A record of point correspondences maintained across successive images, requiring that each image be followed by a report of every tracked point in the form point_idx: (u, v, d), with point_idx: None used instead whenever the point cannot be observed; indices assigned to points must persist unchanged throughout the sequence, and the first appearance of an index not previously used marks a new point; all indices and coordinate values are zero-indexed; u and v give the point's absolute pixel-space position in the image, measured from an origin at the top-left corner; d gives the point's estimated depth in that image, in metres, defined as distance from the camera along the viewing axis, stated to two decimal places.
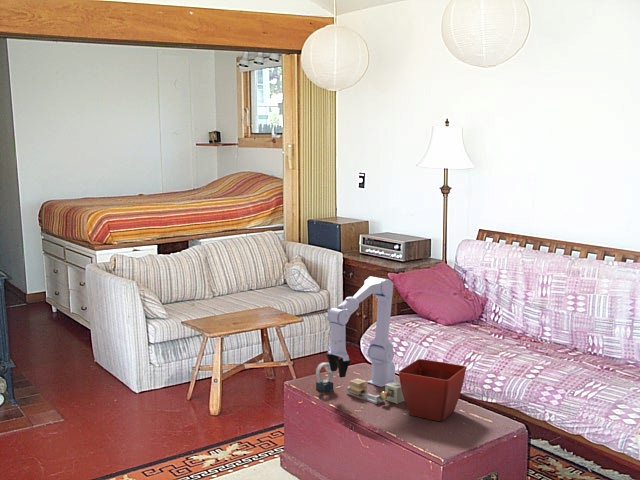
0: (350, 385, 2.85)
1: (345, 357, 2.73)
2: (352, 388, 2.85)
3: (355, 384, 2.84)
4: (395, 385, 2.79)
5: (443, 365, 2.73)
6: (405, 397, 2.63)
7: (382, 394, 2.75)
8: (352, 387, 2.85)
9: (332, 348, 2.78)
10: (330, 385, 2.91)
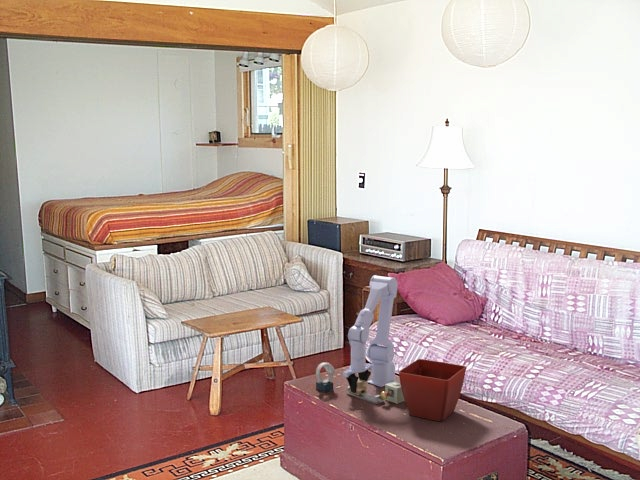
0: None
1: (344, 373, 2.80)
2: None
3: None
4: (395, 385, 2.79)
5: (443, 365, 2.73)
6: (405, 397, 2.63)
7: (382, 394, 2.75)
8: None
9: None
10: (330, 385, 2.91)
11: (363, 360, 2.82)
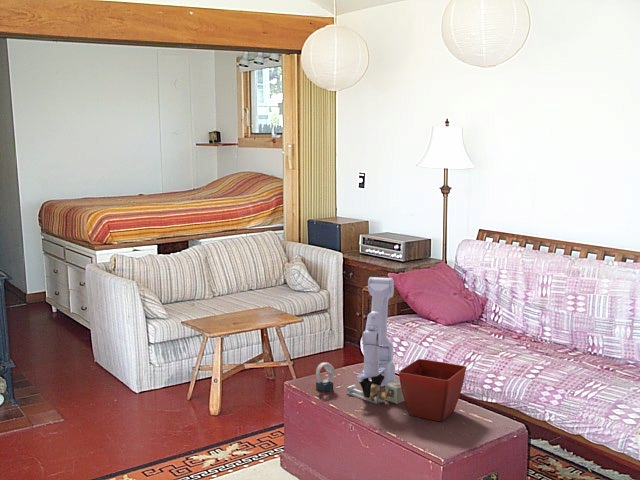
0: None
1: (357, 377, 2.75)
2: None
3: None
4: (395, 385, 2.79)
5: (443, 365, 2.73)
6: (405, 397, 2.63)
7: (382, 394, 2.75)
8: None
9: None
10: (330, 385, 2.91)
11: (377, 364, 2.77)
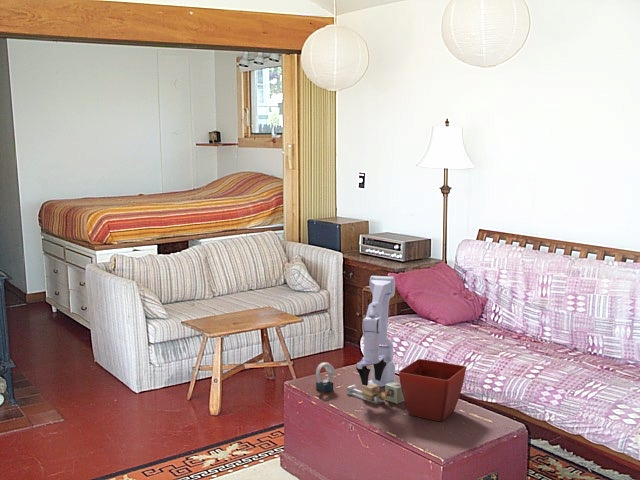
0: (363, 389, 2.81)
1: (358, 364, 2.74)
2: (365, 392, 2.80)
3: (368, 388, 2.79)
4: (395, 385, 2.79)
5: (443, 365, 2.73)
6: (405, 397, 2.63)
7: (382, 394, 2.75)
8: (365, 391, 2.80)
9: None
10: (330, 385, 2.91)
11: (377, 351, 2.77)
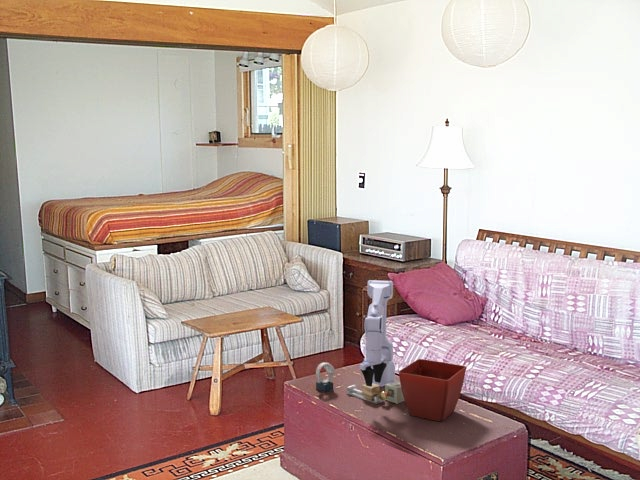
0: (363, 389, 2.81)
1: (360, 365, 2.65)
2: (365, 392, 2.80)
3: (368, 388, 2.79)
4: (395, 385, 2.79)
5: (443, 365, 2.73)
6: (405, 397, 2.63)
7: (382, 394, 2.75)
8: (365, 391, 2.80)
9: None
10: (330, 385, 2.91)
11: (379, 351, 2.68)
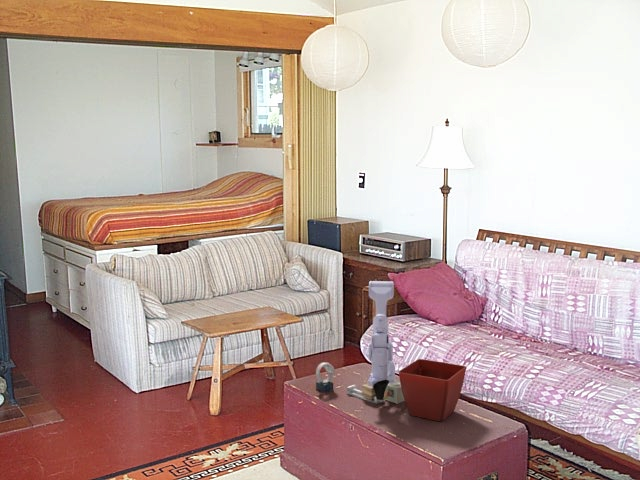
0: (363, 389, 2.81)
1: (368, 382, 2.68)
2: (365, 392, 2.80)
3: (368, 388, 2.79)
4: (395, 385, 2.79)
5: (443, 365, 2.73)
6: (405, 397, 2.63)
7: None
8: (365, 391, 2.80)
9: None
10: (330, 385, 2.91)
11: (386, 367, 2.71)
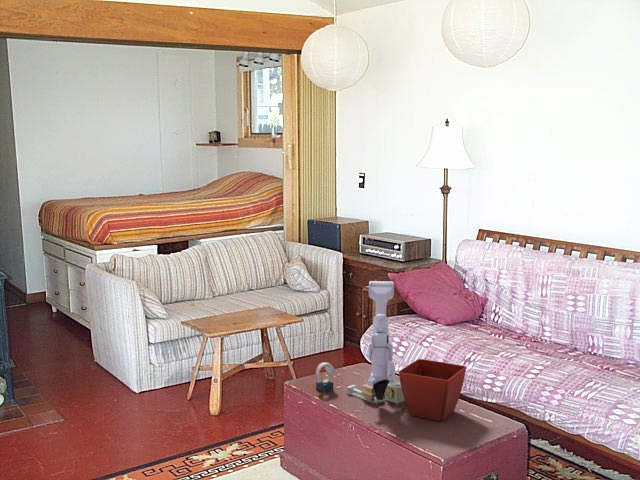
0: (363, 389, 2.81)
1: (369, 381, 2.68)
2: (365, 392, 2.80)
3: (368, 388, 2.79)
4: (395, 385, 2.79)
5: (443, 365, 2.73)
6: (405, 397, 2.63)
7: (388, 392, 2.78)
8: (365, 391, 2.80)
9: None
10: (330, 385, 2.91)
11: (386, 367, 2.71)
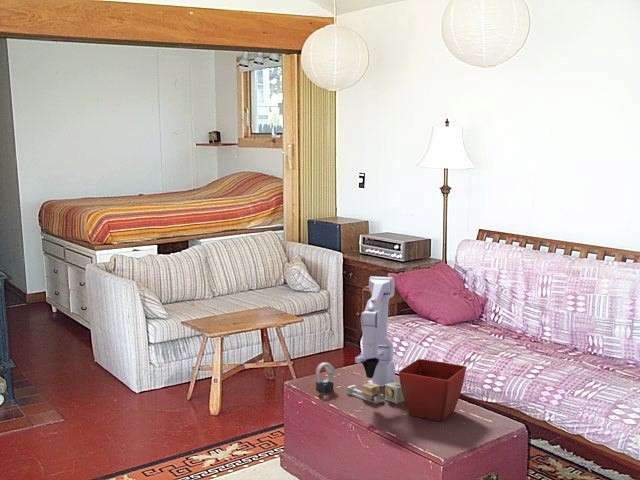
0: (363, 389, 2.81)
1: (356, 359, 2.71)
2: (365, 392, 2.80)
3: (368, 388, 2.79)
4: (395, 385, 2.79)
5: (443, 365, 2.73)
6: (405, 397, 2.63)
7: (388, 392, 2.78)
8: (365, 391, 2.80)
9: None
10: (330, 385, 2.91)
11: (375, 345, 2.73)
